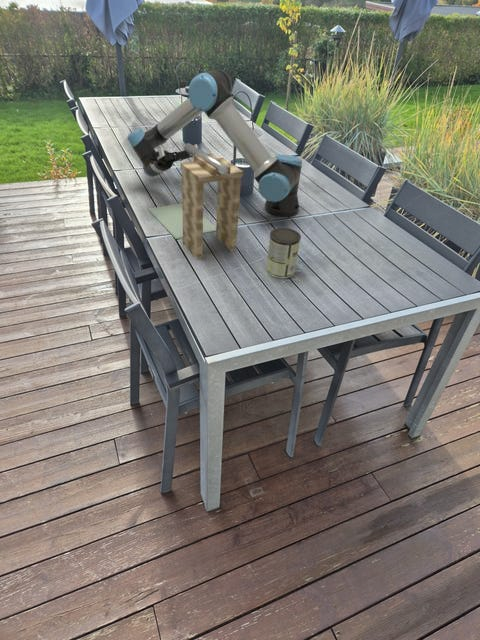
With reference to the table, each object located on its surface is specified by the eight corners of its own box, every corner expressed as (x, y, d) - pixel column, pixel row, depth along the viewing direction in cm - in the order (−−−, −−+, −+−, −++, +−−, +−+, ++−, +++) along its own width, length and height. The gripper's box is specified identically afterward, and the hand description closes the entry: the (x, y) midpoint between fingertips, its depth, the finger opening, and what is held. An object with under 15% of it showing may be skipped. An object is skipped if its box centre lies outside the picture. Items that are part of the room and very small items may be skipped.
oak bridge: (181, 242, 164) (180, 156, 144) (219, 234, 171) (222, 151, 151) (198, 260, 155) (199, 171, 135) (237, 251, 162) (243, 165, 142)
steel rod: (184, 152, 154) (184, 143, 152) (191, 151, 156) (192, 143, 154) (220, 175, 139) (221, 166, 137) (227, 174, 141) (228, 165, 139)
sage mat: (148, 210, 184) (148, 208, 184) (187, 203, 192) (187, 202, 192) (176, 239, 166) (176, 238, 166) (217, 231, 174) (217, 229, 173)
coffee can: (269, 260, 159) (273, 225, 150) (297, 266, 157) (303, 230, 148) (262, 275, 151) (266, 238, 142) (291, 281, 149) (298, 244, 140)
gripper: (191, 167, 187) (212, 156, 168) (134, 174, 176) (150, 164, 157) (187, 149, 185) (208, 136, 166) (130, 155, 174) (145, 142, 156)
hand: (180, 149), depth 162 cm, fingers open, 13 cm apart
